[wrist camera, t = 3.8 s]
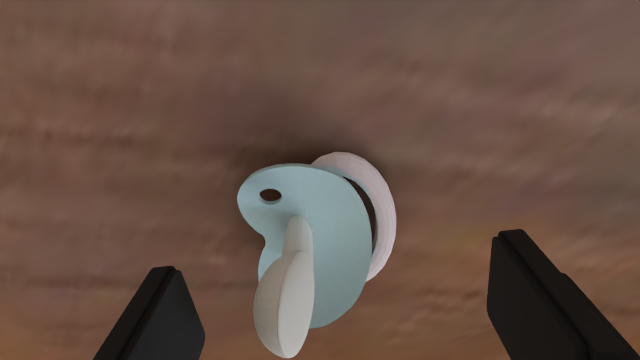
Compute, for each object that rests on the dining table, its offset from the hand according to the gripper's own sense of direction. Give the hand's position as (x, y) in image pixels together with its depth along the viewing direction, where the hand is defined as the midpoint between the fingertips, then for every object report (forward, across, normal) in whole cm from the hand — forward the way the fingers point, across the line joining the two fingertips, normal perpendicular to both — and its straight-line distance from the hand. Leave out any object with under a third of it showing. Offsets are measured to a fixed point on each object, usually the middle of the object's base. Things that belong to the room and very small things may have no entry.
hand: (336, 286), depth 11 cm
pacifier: (+5, 0, +1) cm, 5 cm away
